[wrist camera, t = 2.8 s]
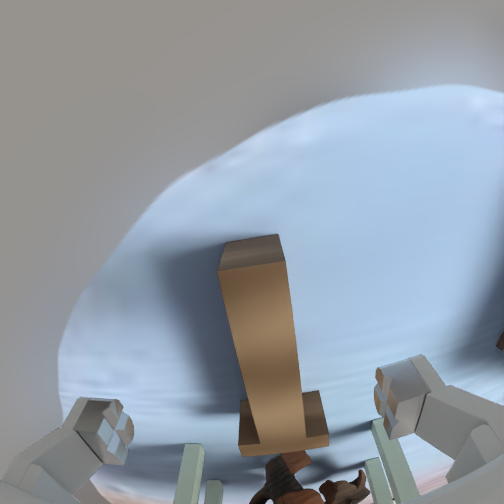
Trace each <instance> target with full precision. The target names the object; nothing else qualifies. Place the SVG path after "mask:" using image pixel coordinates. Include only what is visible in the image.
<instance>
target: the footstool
mask: <svg viewBox="0 0 504 504" xmlns="http://www.w3.org/2000/svg"><path fill="white" fill-rule="evenodd" d="M383 423H384V417H383V418H380V419H376V420H373V421H372V428H371V431H372V434H373V437H374V439H375V442H376V445H377V448H378V451H379V454H380V457H381V460H382V463H383V466H384V469H385V472H386V475H387V478H388V481H389V484H390V487H391V490H392V493H393V496H394V500H395V503H396V504H400V503H402V502H405V501H408V500H411V499H413V498H416V497H418V496H420V495H419V492H418V489H417V487H416V484H415V481H414V479H413V476H412V473H411V471H410V468H409V466H408V463H407V461H406V458H405V456H404V453H403V451H402V448H401V446H400V443H399V441H398V439H397V438H396V439H393V440H389V438H388V435H387V433H386V431H385V428H384V426H383ZM204 457H205V451H204V449H203V447H202V445H201V444H185V447H184V452H183V457H182V462H181V467H180V472H179V477H178V482H177V487H176V492H175V497H174V502H173V504H198V499H199V492H200V485H201V478H202V471H203V464H204ZM364 468H365V472H366V475H367V479H368V482H369V486H370V489H371V493H372V497H373V501H374V504H394V503H393V500H392V496H391V493H390V490H389V487H388V484H387V481H386V478H385V474H384V471H383V468H382V465H381V462H380V459H379V457H378V458H374V459H370V460H366V461H365V466H364ZM223 487H224V485H223V484H222V482H221V480H207V484H206V492H205V500H204V504H222V500H223Z"/></svg>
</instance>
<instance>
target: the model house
mask: <svg viewBox="0 0 504 504" xmlns="http://www.w3.org/2000/svg"><path fill="white" fill-rule="evenodd" d="M496 346H497V347H498V348H499V349H500V350H501V351H502V352H504V332H503V334H502V336H501V337H500V339H499V341H498V343H497V345H496Z"/></svg>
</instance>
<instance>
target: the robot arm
mask: <svg viewBox="0 0 504 504" xmlns="http://www.w3.org/2000/svg"><path fill="white" fill-rule="evenodd" d="M375 377H376V380H377V382H378V383H377V385H376V386H375V387H374V400H375V405H376V409H377V411H378V414H379V415H381V416H382V417H384V423H383V426H384V428H385V431H386V433H387V435H388V438H389V440H393V439H396V438H399V437H403V436H406V435H409V434H412V433H415V434H416V435H417V436H419V437H420V438H422V439H423V440H425V441H426V442H428V443H429V444H431V445H432V446H434V447H435V448H437V449H438V450H440V451H442V452H443V453H445V454H446V455H448V456H449V457H451V458H452V459H454V460H455V461H454V463H453V465H452V466H451V468H450V470H449V471H448V473H447V475H446V479H447V481H448V483H449V484H447V485H444V486H442V487H440V488H438V489H435V490H433V491H431V492H428V493H426V494H423V495H421V496H418V497H416V498H413V499H411V500H408V501H405V502H402V503H400V504H504V406H502V405H500V404H497V403H494V402H492V401H489V400H487V399H484V398H482V397H479V396H476V395H474V394H471V393H469V392H466V391H464V390H462V389H459V388H457V387H454V386H452V385H449V386H446V385H445V384H444V382H443V381H442V379H441V378H440V377H439V375H438V374H437V372H436V371H435V370H434V368H433V367H432V365H431V364H430V363H429V361H428V360H427V359H426V357H425V356H424V355H422V354H420V355H417V356H414V357H411V358H408V359H405V360H402V361H398V362H395V363H392V364H388V365H385V366H381V367H378V368H377V370H376V376H375ZM122 410H123V406H122V404H121V403H120V401H119V400H116V399H104V398H88V397H80V398H78V399H77V401H76V402H75V404H74V406H73V408H72V409H71V411H70V413H69V415H68V417H67V418H66V420H65V422H64V424H63V426H62V427H61V428H57V429H55V430H54V431H53V432H51V433H50V434H48V435H47V436H45V437H44V438H42V439H41V440H39V441H38V442H36V443H35V444H33V445H32V446H30V447H29V448H27V449H25V450H24V451H23V452H21V453H19V454H18V455H16V456H15V457H14V459H13V461H12V463H11V464H10V466H9V468H8V470H7V472H6V474H5V476H4V477H3V479H2V481H1V480H0V504H81V502H80V501H78V500H77V499H76V498H75V497H74V496H72V495H73V494H74V493H75V492H76V491H77V490H78V489H79V488H80V487H81V486H82V485H83V484H84V483H85V482H86V481H87V480H88V479H89V478H90V477H91V476H92V475H93V474H94V473H95V472H96V471H97V470H98V469H99V468H100V467H101V466H102V465H103V463H106V464H114V465H124V464H125V460H126V457H127V454H128V451H129V450H128V448H127V446H126V445H128V444H129V443H130V442H131V441H132V439H133V436H134V426H133V422H132V420H131V418H130V417H129V416H128V415H127V414H126V413H124V412H123V411H122ZM393 503H394V504H396V503H395V500H393Z"/></svg>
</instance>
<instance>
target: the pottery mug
mask: <svg viewBox="0 0 504 504" xmlns="http://www.w3.org/2000/svg"><path fill="white" fill-rule="evenodd" d="M310 463H311V459H310V457H309V456H308V455H307V454H306V452H305V450H302V451H295V452H287V453H283V454H281V455H280V456H278V457H276V458H275V459H272V460H271V461H270V462H268V463H267V464H266V466H265V470H266V481H267V482H266V483H265V485H264V487H263V488H262V489H261V490H260V491H258V492H257V493H256V494H255V495H254V496H253V498H252V499H251V501H250V503H249V504H265V503H266V502H267V500H269V499H271V500H272V501H273V504H358V503H359V502H360V501H362V500H363V499H365V498H366V497H367V496H368V495H369V494H370V491H369V490H368V489H367V488H366V487H365V482H366V476H365V473H364V472H363V470H359V477H357V478H356V479H355V480H354V481H352V482H349V483H348V482H347V481H337V482H332V481H330V480H327V481H326V482H325V483H323V484H322V485H321V486H320V487H319V491H320V493H322V494H323V496H324V498H325V500H326V501H325V502H323V500H322V498H321V495H320V494H319V493H318V492H316V491H315V490H313V489H303V488H302V486H301V485H300V484H299V483H298V481H297V480H296V479H295V476H294V474H295V473H296V472H297V471H298V470H300V469H302V468H303V467H305V466H307V465H309V464H310Z"/></svg>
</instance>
